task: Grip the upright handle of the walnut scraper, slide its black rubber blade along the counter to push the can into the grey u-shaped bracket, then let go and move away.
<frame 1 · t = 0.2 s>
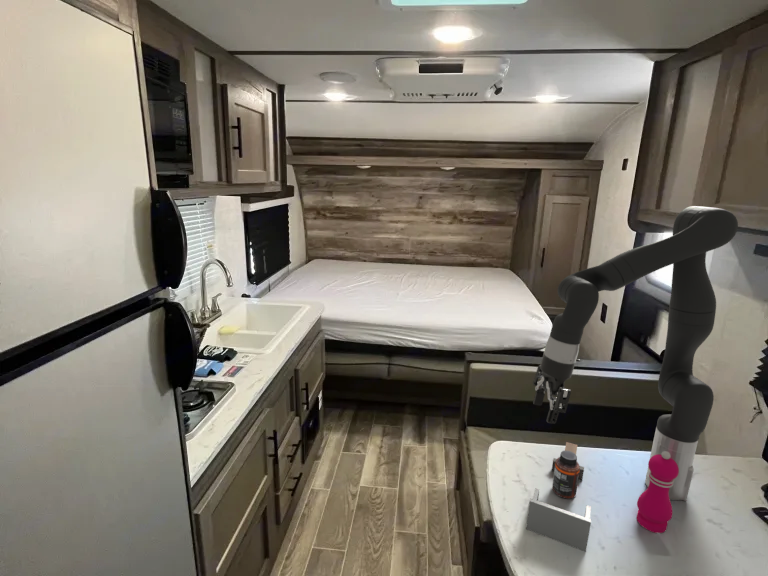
hand: (543, 413, 110), 22 cm above the table, tool pointing down, fingers open, 8 cm apart
scraper: (568, 467, 124), on the table
supplement bottle: (563, 492, 114), on the table
grey u-shaped bracket: (557, 523, 103), on the table
pepper mill: (651, 523, 104), on the table
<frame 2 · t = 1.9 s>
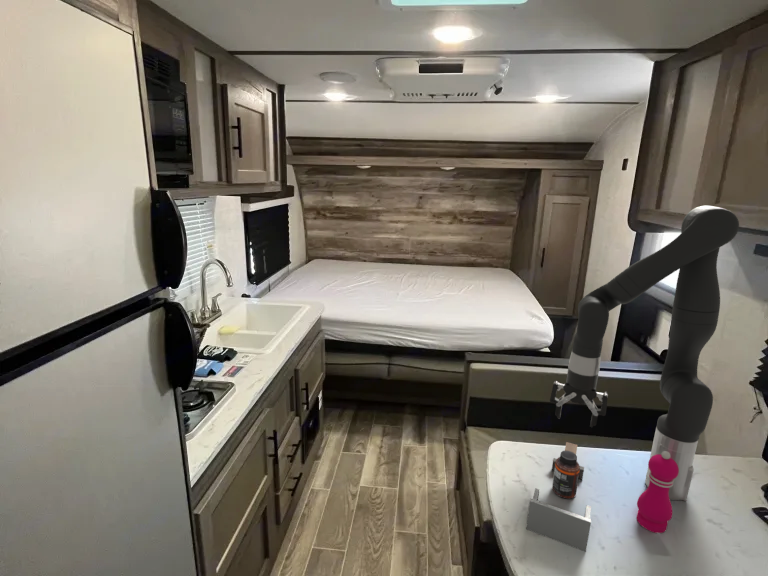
hand: (574, 421, 120), 15 cm above the table, tool pointing down, fingers open, 8 cm apart
nothing on the table moved.
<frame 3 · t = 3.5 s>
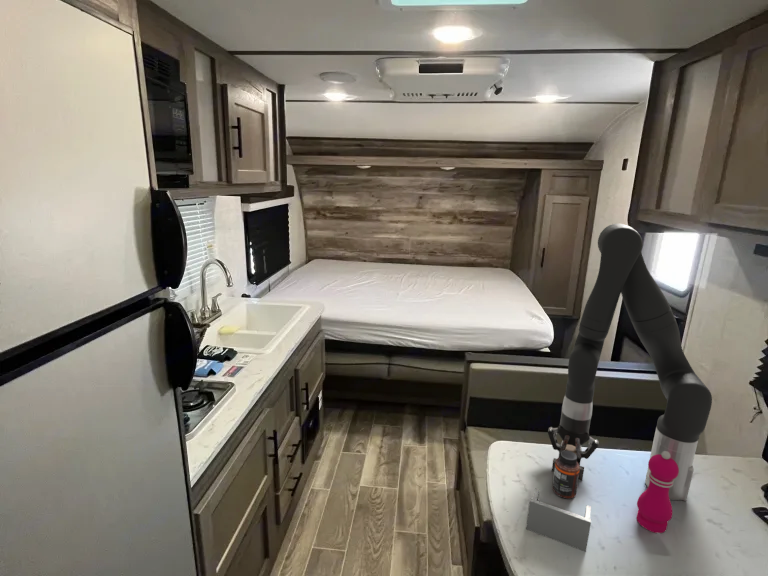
hand: (568, 464, 124), 1 cm above the table, tool pointing down, fingers closed on scraper, 3 cm apart
scraper: (568, 467, 124), on the table, touching gripper
everything else where it was.
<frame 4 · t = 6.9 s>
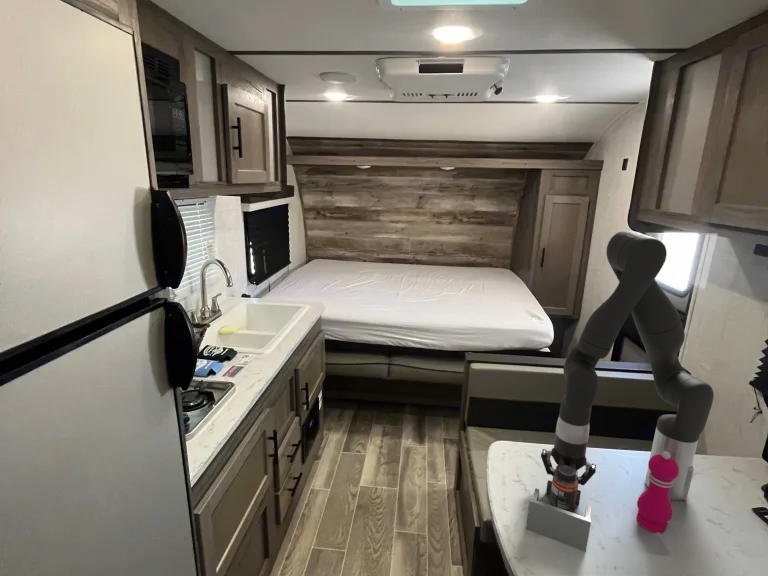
hand: (563, 491, 113), 1 cm above the table, tool pointing down, fingers closed on scraper, 3 cm apart
scraper: (564, 489, 115), on the table, touching supplement bottle, gripper
supplement bottle: (561, 508, 108), on the table, touching scraper
everything else where it was.
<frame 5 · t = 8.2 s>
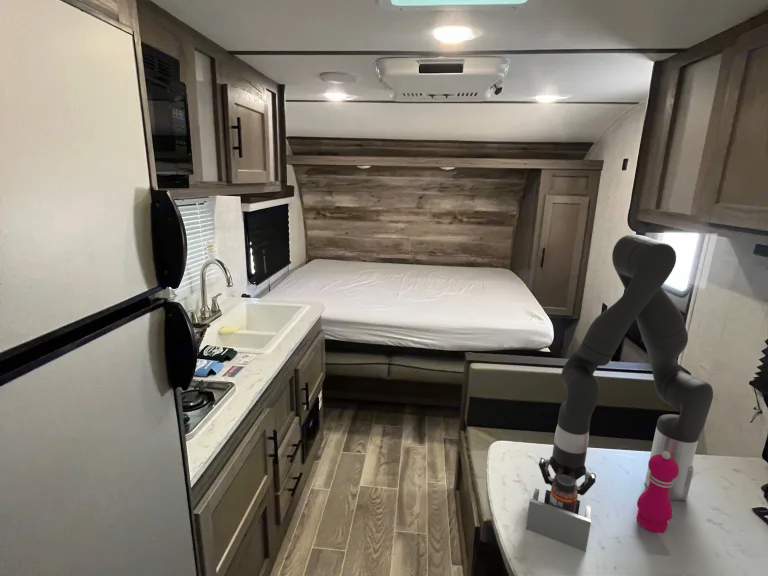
hand: (562, 500, 110), 1 cm above the table, tool pointing down, fingers closed on scraper, 3 cm apart
scraper: (562, 499, 111), on the table, touching supplement bottle, gripper
supplement bottle: (560, 519, 105), on the table, touching scraper
everything else where it was.
when the fingers open (1 cm above the table, at t = 9.2 s): scraper stays where it is, on the table.
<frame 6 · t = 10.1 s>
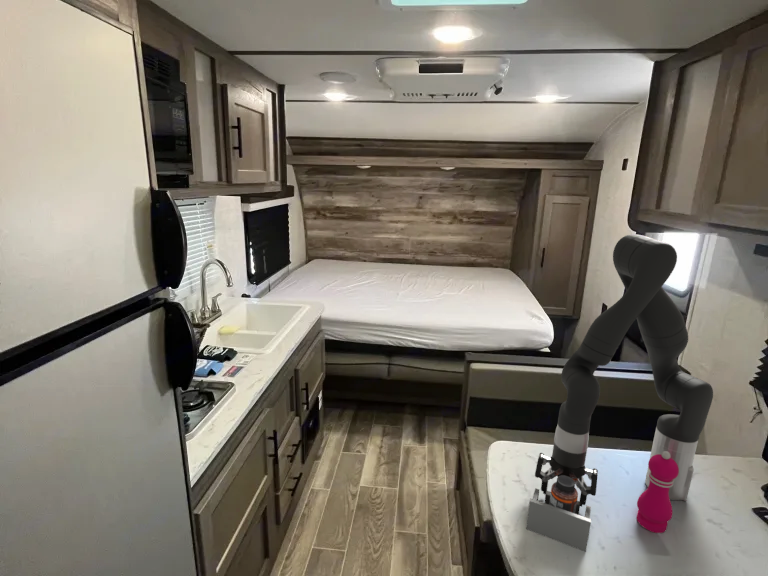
hand: (562, 498, 109), 2 cm above the table, tool pointing down, fingers open, 8 cm apart
scraper: (562, 500, 111), on the table
supplement bottle: (560, 520, 105), on the table
everything else where it was.
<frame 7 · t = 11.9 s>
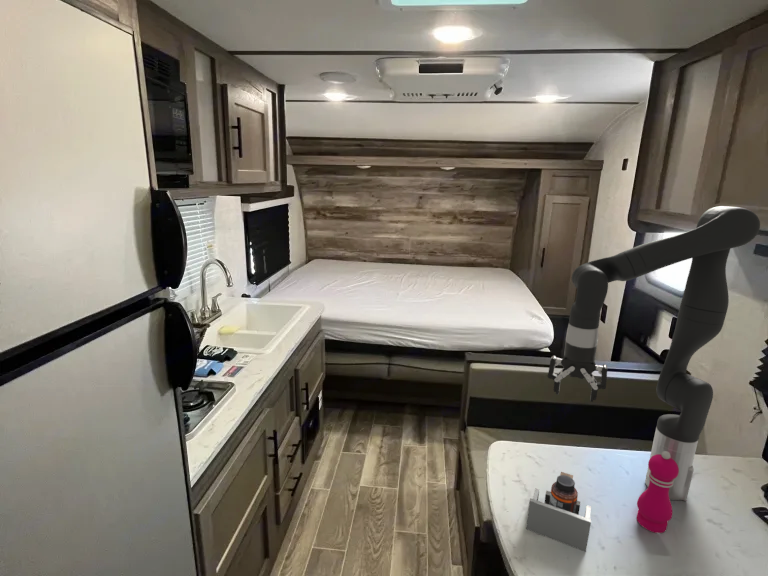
hand: (574, 396, 116), 24 cm above the table, tool pointing down, fingers open, 8 cm apart
nothing on the table moved.
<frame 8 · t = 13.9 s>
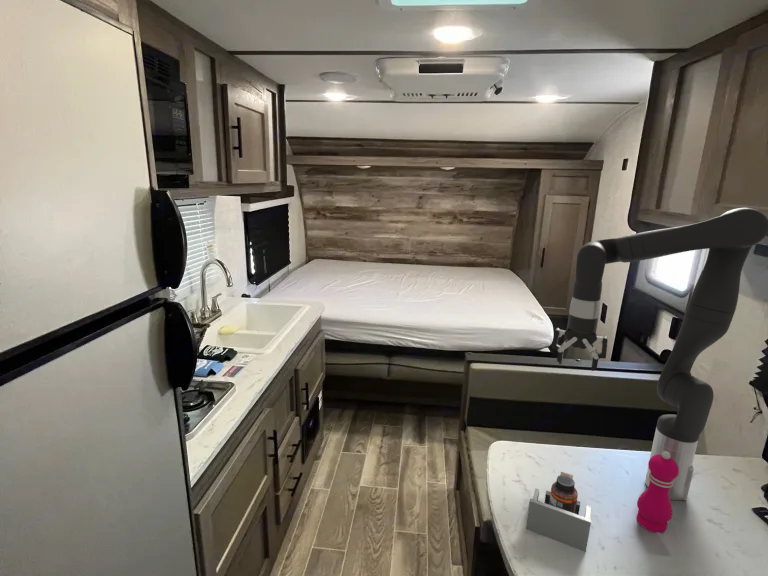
hand: (576, 366, 124), 28 cm above the table, tool pointing down, fingers open, 8 cm apart
nothing on the table moved.
at the end: supplement bottle inside the target area (2.2 cm from its centre), on the table; supplement bottle tilted 0° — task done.
